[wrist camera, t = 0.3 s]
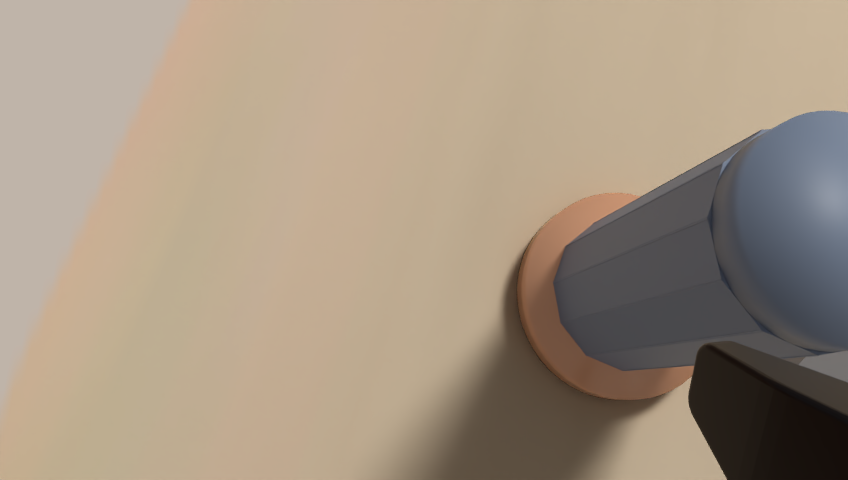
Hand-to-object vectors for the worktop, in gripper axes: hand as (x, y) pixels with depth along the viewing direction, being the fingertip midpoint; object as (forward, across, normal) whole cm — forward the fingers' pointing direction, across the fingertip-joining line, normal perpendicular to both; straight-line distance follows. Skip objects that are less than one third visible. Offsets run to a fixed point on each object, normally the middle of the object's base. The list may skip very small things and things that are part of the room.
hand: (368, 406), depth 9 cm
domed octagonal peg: (+12, -11, +6) cm, 17 cm away
